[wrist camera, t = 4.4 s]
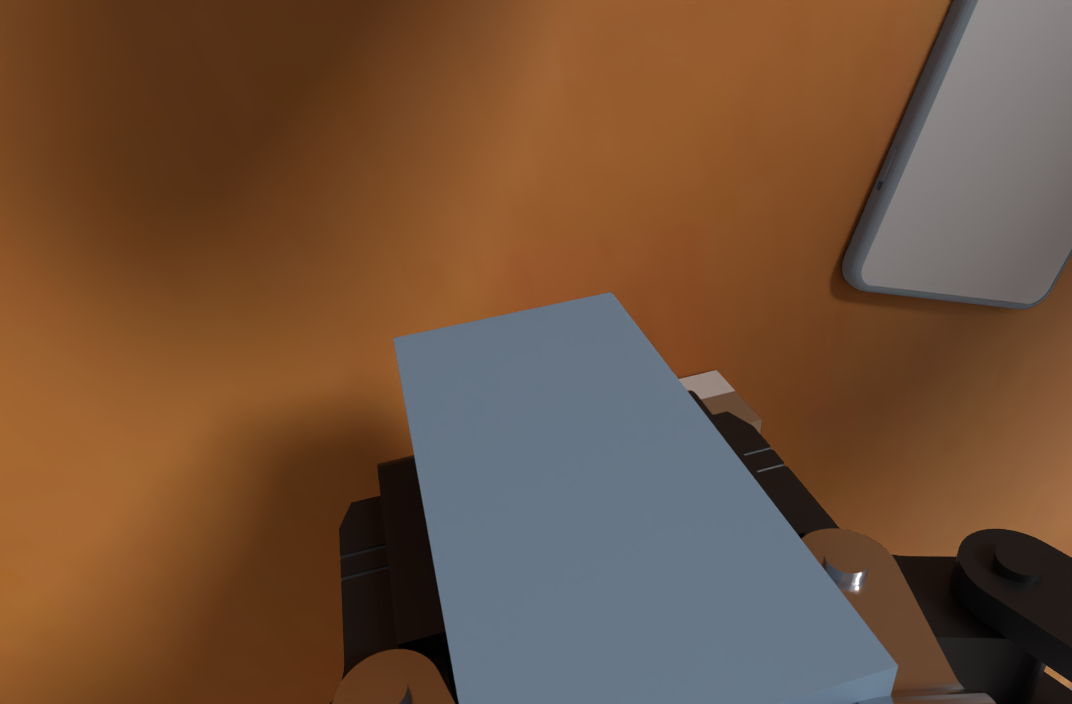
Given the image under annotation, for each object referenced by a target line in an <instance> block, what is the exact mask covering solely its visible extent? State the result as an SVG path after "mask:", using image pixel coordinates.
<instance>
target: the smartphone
mask: <svg viewBox="0 0 1072 704" xmlns="http://www.w3.org/2000/svg"><path fill="white" fill-rule="evenodd" d="M1071 255H1072V0H953V3H952V5H951V7H950V10H949V12H948V14H947V17H946V19H945V21H944V23H943V26H942V28H941V30H940V33H939V35H938V37H937V40H936V42H935V44H934V47H933V49H932V51H931V54H930V56H929V58H928V61H927V63H926V65H925V68H924V70H923V72H922V75H921V77H920V79H919V82H918V84H917V86H916V89H915V91H914V93H913V96H912V98H911V100H910V103H909V105H908V107H907V110H906V112H905V114H904V117H903V119H902V121H901V124H900V126H899V128H898V131H897V133H896V135H895V138H894V140H893V142H892V145H891V147H890V149H889V152H888V154H887V156H886V159H885V161H884V163H883V166H882V168H881V170H880V173H879V175H878V178H877V180H876V182H875V185H874V187H873V189H872V192H871V194H870V196H869V199H868V201H867V203H866V206H865V208H864V210H863V213H862V215H861V217H860V220H859V222H858V225H857V227H856V229H855V232H854V234H853V237H852V239H851V241H850V244H849V246H848V248H847V251H846V253H845V256H844V258H843V262H842V273H843V276H844V279H845V280H846V281H847V282H848V283H849V284H850V285H851V286H853V287H854V288H856V289H858V290H860V291H865V292H873V293H882V294H891V295H899V296H908V297H917V298H926V299H934V300H943V301H952V302H960V303H969V304H978V305H987V306H995V307H1004V308H1013V309H1028V308H1031V307H1033V306H1035V305H1037V304H1039V303H1040V302H1042V301H1043V300H1044V299H1045V298H1046V297H1047V296H1048V294H1049V293H1050V292H1051V290H1052V289H1053V287H1054V285H1055V283H1056V282H1057V280H1058V278H1059V276H1060V274H1061V273H1062V271H1063V269H1064V267H1065V266H1066V264H1067V262H1068V260H1069V258H1070V257H1071Z"/></svg>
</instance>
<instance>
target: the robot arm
mask: <svg viewBox="0 0 1072 704" xmlns="http://www.w3.org/2000/svg"><path fill="white" fill-rule="evenodd" d="M688 392H689V394H690V395H691V396H692V398H693V399H694V400H695V402H696V403H697V404H698V405H699V407H700V408H701V409H702V411H703V412H704V413H705V415H706V416H707V417H708V418H709V420H710V421H711V422H712V424H713V425H714V426H715V428H716V429H717V430H718V432H719V433H720V434H721V435H722V437H723V438H724V439H725V441H726V442H727V443H728V445H729V446H730V447H731V448H732V450H733V451H734V452H735V454H736V455H737V456H738V458H739V459H740V460H741V462H742V463H743V464H744V465H745V467H746V468H747V469H748V471H749V472H750V473H751V475H752V476H753V477H754V478H755V480H756V481H757V482H758V484H759V485H760V486H761V488H762V489H763V490H764V491H765V493H766V494H767V495H768V497H769V498H770V499H771V501H772V502H773V503H774V505H775V506H776V507H777V508H778V510H779V511H780V512H781V514H782V515H783V516H784V518H785V519H786V520H787V521H788V523H789V524H790V525H791V527H792V528H793V529H794V531H795V532H796V533H797V535H798V536H799V537H800V538H801V540H802V541H803V542H804V544H805V545H806V546H807V548H808V549H809V550H810V551H811V553H812V554H813V555H814V557H815V558H816V559H817V561H818V562H819V563H820V564H821V566H822V567H823V568H824V570H825V571H826V572H827V574H828V575H829V576H830V578H831V579H832V580H833V581H834V583H835V584H836V585H837V587H838V588H839V589H840V591H841V592H842V593H843V594H844V596H845V597H846V598H847V600H848V601H849V602H850V604H851V605H852V606H853V608H854V609H855V610H856V611H857V613H858V614H859V615H860V617H861V618H862V619H863V621H864V622H865V623H866V624H867V626H868V627H869V628H870V630H871V631H872V632H873V634H874V635H875V636H876V637H877V639H878V640H879V641H880V643H881V644H882V645H883V647H884V648H885V649H886V651H887V652H888V653H889V654H890V656H891V657H892V658H893V660H894V661H895V662H896V664H897V665H898V669H897V673H896V677H895V680H894V684H893V688H892V692H891V695H889V696H883V697H877V698H871V699H867V700H862V701H858V702H857V704H1072V691H1071V690H1070V689H1069V688H1067V687H1066V686H1064V685H1063V684H1061V683H1060V682H1058V681H1057V680H1056V679H1054V678H1053V677H1051V676H1050V675H1048V674H1047V673H1045V672H1044V670H1045V667H1046V665H1047V666H1048V667H1050V668H1051V669H1053V670H1054V671H1056V672H1057V673H1059V674H1060V675H1062V676H1063V677H1064V678H1066V679H1067V680H1069V681H1070V682H1072V558H1071V557H1070V556H1068V555H1066V554H1064V553H1062V552H1061V551H1059V550H1057V549H1055V548H1054V547H1052V546H1050V545H1048V544H1047V543H1045V542H1043V541H1041V540H1039V539H1037V538H1034V537H1032V536H1029V535H1027V534H1024V533H1020V532H1017V531H1012V530H1006V529H986V530H980V531H977V532H974V533H972V534H970V535H969V536H967V537H966V538H965V539H964V540H963V541H962V543H961V545H960V547H959V550H958V553H957V557H926V556H897V555H891V554H890V553H889V551H888V550H887V549H886V548H884V547H883V546H882V545H881V544H880V543H878V542H876V541H875V540H873V539H872V538H870V537H868V536H866V535H863V534H860V533H858V532H855V531H850V530H846V529H840V528H839V527H838V526H837V525H836V524H835V522H834V521H833V520H832V519H831V518H830V516H829V515H828V514H827V513H826V512H825V510H824V509H823V508H822V507H821V506H820V505H819V503H818V502H817V501H816V500H815V499H814V497H813V496H812V495H811V494H810V493H809V491H808V490H807V489H806V488H805V487H804V486H803V484H802V483H801V482H800V481H799V480H798V478H797V477H796V476H795V475H794V474H793V472H792V471H791V470H790V469H789V468H788V467H785V465H784V462H783V461H782V459H781V458H780V457H779V456H778V455H777V453H776V452H775V451H774V450H771V448H770V445H769V444H768V443H767V442H766V440H765V439H764V438H763V437H762V436H761V434H760V433H759V432H758V431H757V430H756V428H755V427H754V426H753V425H751V424H749V423H747V422H746V421H744V420H742V419H740V418H739V417H737V416H735V415H733V414H732V413H730V412H728V411H726V412H722V413H718V414H714V415H713V414H712V413H711V412H710V410H709V409H708V408H707V407H706V405H705V404H704V403H703V401H702V400H701V399H700V398H699V396H698V395H697V394H696V393H695V392H694V391H692V390H688ZM378 476H379V485H380V493H381V496H377V497H373V498H369V499H365V500H360V501H356V502H352V503H351V505H350V507H349V509H348V511H347V513H346V515H345V518H344V520H343V522H342V524H341V526H340V528H339V536H340V556H341V560H340V562H341V578H342V582H341V588H342V613H343V639H344V673H343V678H342V681H341V683H340V684H339V686H338V688H337V690H336V692H335V695H334V698H333V700H332V702H331V703H330V704H459V702H458V696H457V691H456V685H455V680H454V674H453V668H452V663H451V657H450V652H449V646H448V641H447V635H446V629H445V624H444V618H443V613H442V607H441V602H440V596H439V590H438V585H437V579H436V574H435V568H434V563H433V557H432V551H431V546H430V540H429V535H428V529H427V524H426V518H425V512H424V507H423V501H422V496H421V490H420V485H419V479H418V473H417V468H416V462H415V457H414V455H413V456H409V457H404V458H400V459H396V460H392V461H388V462H383V463H379V464H378Z"/></svg>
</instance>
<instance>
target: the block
mask: <svg viewBox="0 0 1072 704" xmlns="http://www.w3.org/2000/svg"><path fill="white" fill-rule="evenodd" d="M393 340H394V345H395V351H396V356H397V362H398V368H399V373H400V379H401V384H402V390H403V395H404V401H405V407H406V412H407V418H408V423H409V429H410V434H411V440H412V446H413V451H414V457H415V462H416V468H417V473H418V479H419V485H420V490H421V496H422V501H423V507H424V512H425V518H426V524H427V529H428V535H429V540H430V546H431V551H432V557H433V563H434V568H435V574H436V579H437V585H438V590H439V596H440V602H441V607H442V613H443V618H444V624H445V629H446V635H447V641H448V646H449V652H450V657H451V663H452V668H453V674H454V680H455V685H456V691H457V696H458V702H459V704H857V702H858V701H862V700H867V699H871V698H877V697H883V696H889V695H891V692H892V688H893V684H894V680H895V677H896V673H897V669H898V665H897V664H896V662H895V661H894V660H893V658H892V657H891V656H890V654H889V653H888V652H887V651H886V649H885V648H884V647H883V645H882V644H881V643H880V641H879V640H878V639H877V637H876V636H875V635H874V634H873V632H872V631H871V630H870V628H869V627H868V626H867V624H866V623H865V622H864V621H863V619H862V618H861V617H860V615H859V614H858V613H857V611H856V610H855V609H854V608H853V606H852V605H851V604H850V602H849V601H848V600H847V598H846V597H845V596H844V594H843V593H842V592H841V591H840V589H839V588H838V587H837V585H836V584H835V583H834V581H833V580H832V579H831V578H830V576H829V575H828V574H827V572H826V571H825V570H824V568H823V567H822V566H821V564H820V563H819V562H818V561H817V559H816V558H815V557H814V555H813V554H812V553H811V551H810V550H809V549H808V548H807V546H806V545H805V544H804V542H803V541H802V540H801V538H800V537H799V536H798V535H797V533H796V532H795V531H794V529H793V528H792V527H791V525H790V524H789V523H788V521H787V520H786V519H785V518H784V516H783V515H782V514H781V512H780V511H779V510H778V508H777V507H776V506H775V505H774V503H773V502H772V501H771V499H770V498H769V497H768V495H767V494H766V493H765V491H764V490H763V489H762V488H761V486H760V485H759V484H758V482H757V481H756V480H755V478H754V477H753V476H752V475H751V473H750V472H749V471H748V469H747V468H746V467H745V465H744V464H743V463H742V462H741V460H740V459H739V458H738V456H737V455H736V454H735V452H734V451H733V450H732V448H731V447H730V446H729V445H728V443H727V442H726V441H725V439H724V438H723V437H722V435H721V434H720V433H719V432H718V430H717V429H716V428H715V426H714V425H713V424H712V422H711V421H710V420H709V418H708V417H707V416H706V415H705V413H704V412H703V411H702V409H701V408H700V407H699V405H698V404H697V403H696V402H695V400H694V399H693V398H692V396H691V395H690V394H689V392H688V391H687V390H686V389H685V387H684V386H683V385H682V383H681V382H680V381H679V379H678V378H677V377H676V375H675V374H674V373H673V372H672V370H671V369H670V368H669V366H668V365H667V364H666V362H665V361H664V360H663V359H662V357H661V356H660V355H659V353H658V352H657V351H656V349H655V348H654V347H653V345H652V344H651V343H650V342H649V340H648V339H647V338H646V336H645V335H644V334H643V332H642V331H641V330H640V329H639V327H638V326H637V325H636V323H635V322H634V321H633V319H632V318H631V317H630V316H629V314H628V313H627V312H626V310H625V309H624V308H623V306H622V305H621V304H620V302H619V301H618V300H617V299H616V297H615V296H614V295H613V293H612V292H610V293H605V294H600V295H596V296H591V297H586V298H581V299H577V300H572V301H567V302H562V303H558V304H553V305H548V306H544V307H539V308H534V309H529V310H525V311H520V312H515V313H510V314H506V315H501V316H496V317H492V318H487V319H482V320H477V321H473V322H468V323H463V324H458V325H454V326H449V327H444V328H440V329H435V330H430V331H425V332H421V333H416V334H411V335H406V336H402V337H397V338H393Z"/></svg>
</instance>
